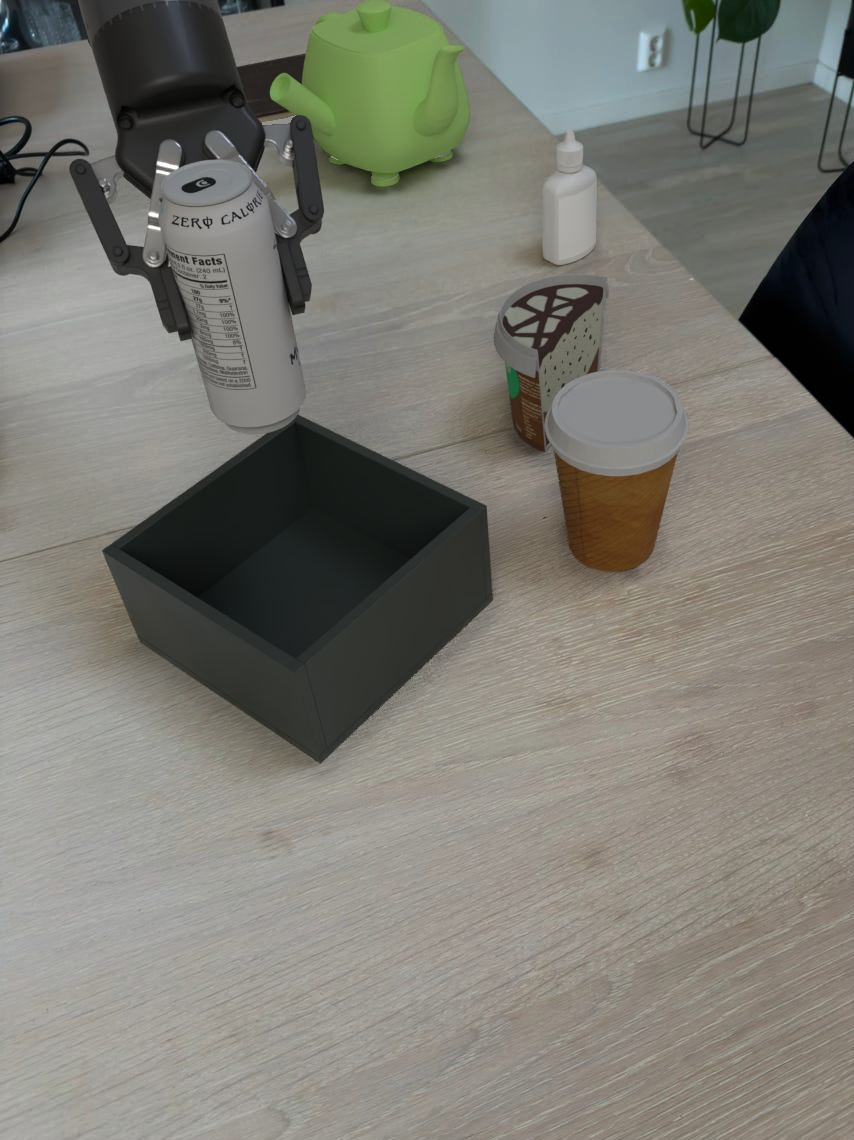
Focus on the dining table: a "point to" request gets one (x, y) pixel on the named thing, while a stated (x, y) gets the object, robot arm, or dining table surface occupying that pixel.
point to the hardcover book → (268, 85)
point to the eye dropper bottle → (569, 205)
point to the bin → (306, 580)
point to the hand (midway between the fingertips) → (243, 322)
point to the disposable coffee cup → (615, 463)
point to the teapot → (380, 89)
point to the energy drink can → (233, 294)
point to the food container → (549, 344)
